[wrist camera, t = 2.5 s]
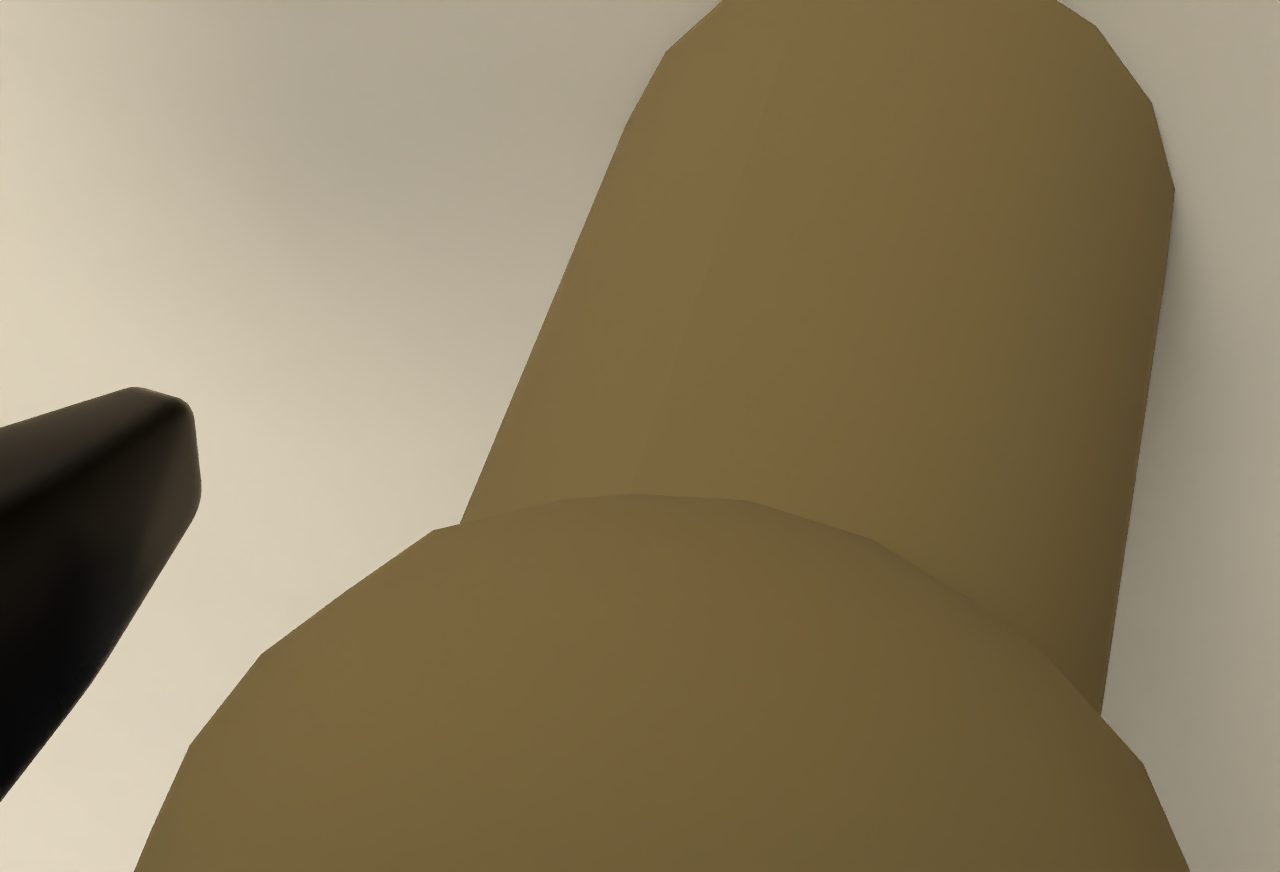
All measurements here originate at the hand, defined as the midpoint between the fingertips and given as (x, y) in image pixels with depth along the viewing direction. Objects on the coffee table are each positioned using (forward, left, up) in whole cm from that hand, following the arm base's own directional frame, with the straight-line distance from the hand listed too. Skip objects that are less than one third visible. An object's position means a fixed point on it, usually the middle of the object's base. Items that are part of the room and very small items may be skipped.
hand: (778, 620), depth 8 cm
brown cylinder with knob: (0, 0, -6) cm, 7 cm away
